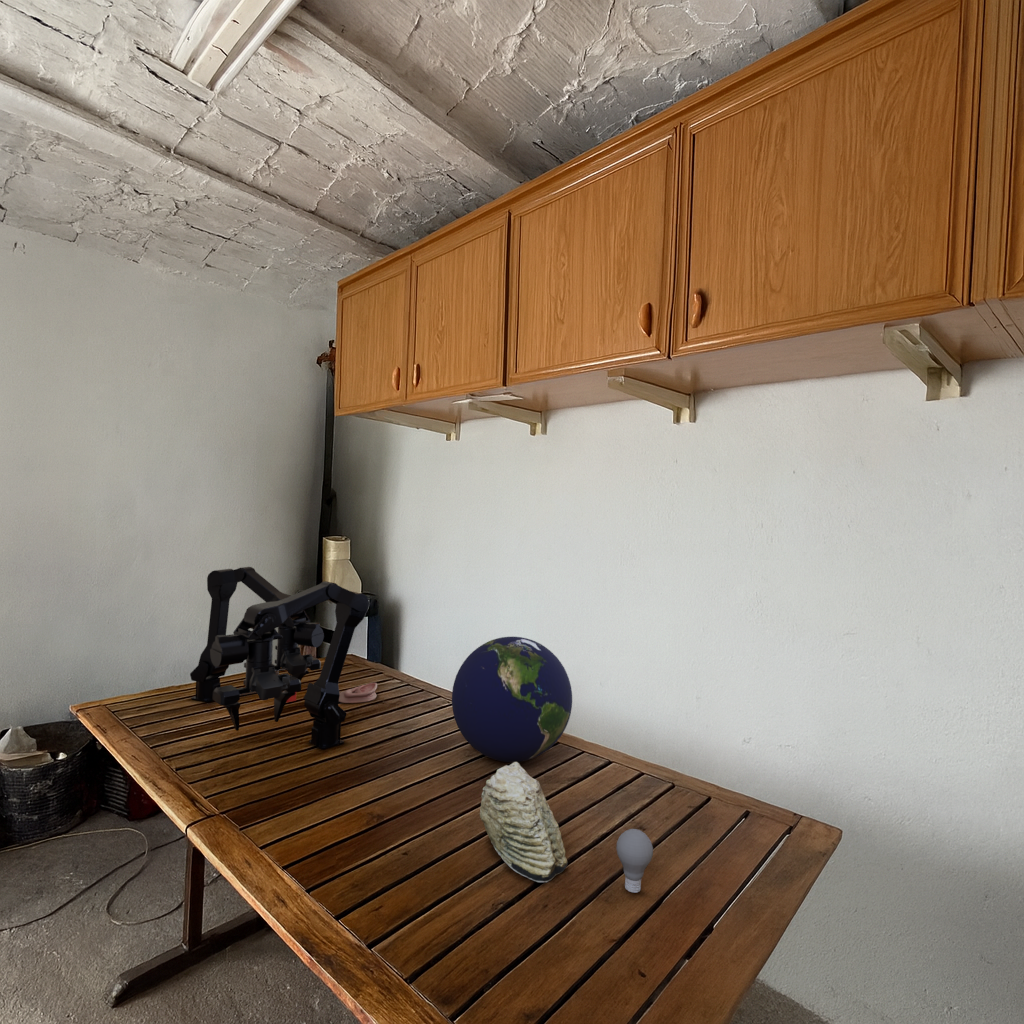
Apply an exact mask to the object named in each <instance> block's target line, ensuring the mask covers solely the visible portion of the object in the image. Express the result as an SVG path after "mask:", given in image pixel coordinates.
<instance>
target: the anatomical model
mask: <svg viewBox="0 0 1024 1024" xmlns="http://www.w3.org/2000/svg"><path fill="white" fill-rule="evenodd" d="M377 688H378V683H377V682H370V683H366V684H363V685H359V686H356V687H353V688H349V689H346V690H343V691H339V693H340V697H339V703H342V704H344V703H345V704H355V703H357V704H358V703H366V702H370V701H374V700H375V699H376V698H377V696H378V695H377V693H376V691H377Z"/></svg>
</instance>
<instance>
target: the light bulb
mask: <svg viewBox="0 0 1024 1024" xmlns="http://www.w3.org/2000/svg"><path fill="white" fill-rule="evenodd" d="M615 849H616V854H617V857H618V859H619V861H620V863H621V865H622V867H623V873H624V874H623V875H624V876H625V878H624V888H625V890H627V891H628V892H630V893H634V894H635V893H639V892H640V891H641V889H642V887H641V886H642V879H643V877H644V875H645V871H646V868H647V867H648V866H649V864H650V863H651V861H652V859H653V855H654V847H653V843H652V841H651V838H649V836H648V835H647V834H646V833H645V832H643V831H642V830H641V829H636V828H629V829H627V830H625V831H623V832H622V833H621V834H620V835H619V837H618V839H617V841H616V847H615Z"/></svg>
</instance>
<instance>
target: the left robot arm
mask: <svg viewBox="0 0 1024 1024" xmlns="http://www.w3.org/2000/svg"><path fill="white" fill-rule="evenodd" d="M240 582H241V583H242V584H243V585H245V586H246V587H247V588H248V589H249V590H251V591H252V592H253V593H254V594H255V595H256V596H257V597H259V598H260V599H261V600H263V602H264V603H265V602H273V601H279V600H282V599H285V598H287V597H290V596H292V595H290V594H287V593H284V592H283V591H280V590H279V589H278V588H277V587H276V586H274V585H273V584H272V583H271V582H269V581H268V580H267V579H266V578H265V577H263V576H262V575H261V574H259V573H258V572H257V571H256V569H255V568H253V567H252V566H241V567H238V568H236V569H233V568H223V569H216V570H212V571H210V573H208V575H207V577H206V586H207V589H206V590H207V592H208V594H209V596H210V599H211V604H210V612H209V620H208V621H209V622H208V631H207V641H206V646H205V648H204V649H203V650H202V652H201V654H200V656H199V660H198V662H197V663H198V664H197V666H196V667H195V668H194V669H193V670H192V671H191V672H190V673H189V676H190V681H192V682H195V695H194V696H192V697H191V698H190V699H191V700H193V701H199V702H203V703H210V702H213V701H214V700H213V691H214V690H215V688H216V687H222V683H221V677H224V676H225V675H226V672H227V670H228V669H229V667H230V665H226V666H220V667H215V666H214V665H213V663H212V661H211V656H210V649H211V648H212V645H213V643H214V642H215V637H216V636H217V635H227V628H228V618H229V611H230V601H231V598H232V596H233V595H234V593H235V592H236V590H237V587H238V583H240ZM277 632H278V633H279V634H280V635H281V636H282V638H281V639H276V640H277V643H276V645H275V646H274V649H275V651H276V659H274V665H275V666H274V667H275V673H276V675H279V674H280V672H285V671H287V673H288V674H289V675H292V676H294V677H295V678H297V679H299V680H300V682H301V683H302V680H303V678H304V677H305V676H306V675H308V674H310V671H316V670H322V662H321V660H320V659H319V658H317V657H314V656H313V655H312V653H309V654H302V653H301V647H300V646H303V647H311V648H319V647H320V646H321V645H322V643H323V641H324V638H325V633H324V630H323V629H322V627H321V623H320V622H311V619H310V617H309V615H308V614H307V612H306V610H303V611H301V612H299V613H297V614H294V615H292V616H290V617H289V618H287V619H286V620H285V621H284V623H283V624H281V625H280V626H278V627H277ZM308 669H309V670H310V671H309V670H308Z"/></svg>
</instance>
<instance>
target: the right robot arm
mask: <svg viewBox="0 0 1024 1024" xmlns="http://www.w3.org/2000/svg"><path fill="white" fill-rule="evenodd" d="M326 601H329V602H331V603H333V604H335V610H334V613H335V622H336V623H335V628H334V630H333V633H332V636H331V640H330V643H329V646H328V650H327V652H326V655H325V658H324V662H323V664H322V667H321V671H320V675H319V677H318V679H317V680H315V682H313V683H311V682H309V683H308V684H307V687H306V692H305V694H304V696H303V700H304V701H303V702H304V703H303V707H304V708H305V711H307V712H308V713H309V716H310V718H313V721H312V722H313V723H312V727H311V730H310V731H311V732H310V733H311V735H310V739H309V740H308V743H309V744H310V745H313V746H314V747H316V748H318V749H320V750H327V749H329V748H333V747H336V746H340V745H343V744H344V743H345V741H344V740H343V739H341V737H342V735H341V733H342V723H343V722H346V721H345V720H346V717H347V715H348V714H347V712H346V711H345V710H344V709H343V708H342V707H340V706H339V703H340V702H339V697H340V688H339V682H340V678H341V675H342V671H343V669H344V665H345V662H346V659H347V656H348V653H349V649H350V646H351V642H352V640H353V637H354V633H355V630H356V628H357V626H359V625H360V624H361V622H363V620H364V619H365V617H366V615H367V613H368V610H369V608H370V600H369V598H368V596H367V595H366V594H364V593H360V592H356V591H352V590H348V589H346V588H344V587H342V586H340V585H338V584H337V583H336V582H331V581H326V580H325V581H322V582H320V583H319V584H317V585H314V586H312V587H310V588H307V589H304V590H301V591H299V592H297V593H295V594H292V595H291V596H290V597H287V598H285V599H282V600H279V601H273V602H265V601H264V602H261V603H256V604H252V605H250V606H249V607H247V608H246V610H245V613H244V614H243V618H242V619H241V620H240V622H239V624H238V625H237V626H236V628H235V629H234V630H233V631H232V634H226V635H217V636H216V637H215V642H214V643H213V645H212V648H211V649H210V656H211V661H212V663H213V665H214V666H215V667H220V666H226V665H229V666H232V665H238V664H243V668H245V679H243V684H242V685H244V686H245V687H239V688H237V687H236V686H233V685H232V684H229V685H228V684H227V685H221V687H216V688H215V690H214V691H213V700H212V701H214V702H215V703H217V704H218V705H219V706H223V707H224V708H225V709H226V711H227V712H228V715H229V718H230V720H231V722H232V725H233V727H234V730H235V731H236V732H239V730H240V707H241V705H242V704H241V703H240V702H239V701H240V699H241V697H246V696H247V697H248V696H251V695H257V696H258V698H259V700H261V701H268V700H270V699H273V718H274V722H275V723H278V722H279V721H280V718H281V716H282V714H283V710H284V708H285V706H286V704H287V703H288V702H287V700H288V699H289V698H290V697H291V696H294V695H295V694H296V695H297V693H299V692H301V691H302V681H301V682H300V680H299V679H297V678H295V677H294V676H292V675H290V674H289V673H288V672H287V673H281V674H280V673H279V675H276V673H275V667H274V666H275V665H276V664H274V663H273V655H274V654H273V653H274V649H273V648H274V641H275V640H277V639H281V638H282V636H281V635H280V634H279V633H278V630H277V629H278V626H280V625H281V624H283V623H284V621H285V620H286V619H287V618H289V617H290V616H292V615H294V614H297V613H299V612H301V611H303V610H305V611H306V610H308V609H310V608H313V607H315V606H317V605H319V604H322V603H324V602H326ZM250 629H251V630H250ZM295 692H296V693H295Z"/></svg>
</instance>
